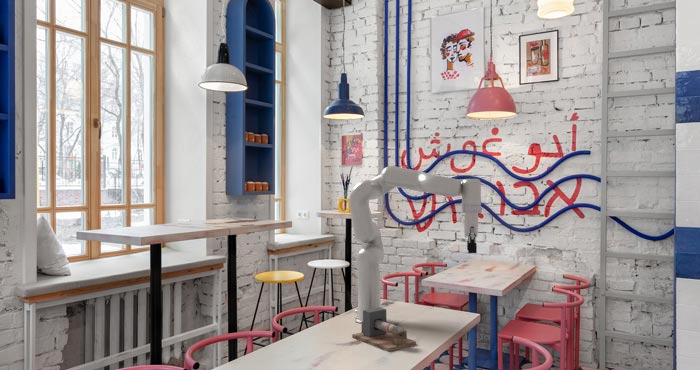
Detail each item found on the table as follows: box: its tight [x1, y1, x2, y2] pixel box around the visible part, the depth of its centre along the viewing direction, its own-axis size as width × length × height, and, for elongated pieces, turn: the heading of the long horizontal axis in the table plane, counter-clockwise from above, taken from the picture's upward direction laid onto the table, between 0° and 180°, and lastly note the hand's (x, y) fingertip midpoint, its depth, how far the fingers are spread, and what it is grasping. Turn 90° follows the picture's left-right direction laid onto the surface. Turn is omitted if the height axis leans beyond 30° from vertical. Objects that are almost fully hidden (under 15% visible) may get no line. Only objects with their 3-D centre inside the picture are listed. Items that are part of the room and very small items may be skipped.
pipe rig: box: [351, 319, 417, 353], centre depth 183 cm, size 21×13×7 cm, turn 35°
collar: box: [363, 306, 387, 337], centre depth 187 cm, size 4×8×9 cm, turn 125°
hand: (471, 251), depth 202 cm, fingers open, 9 cm apart
